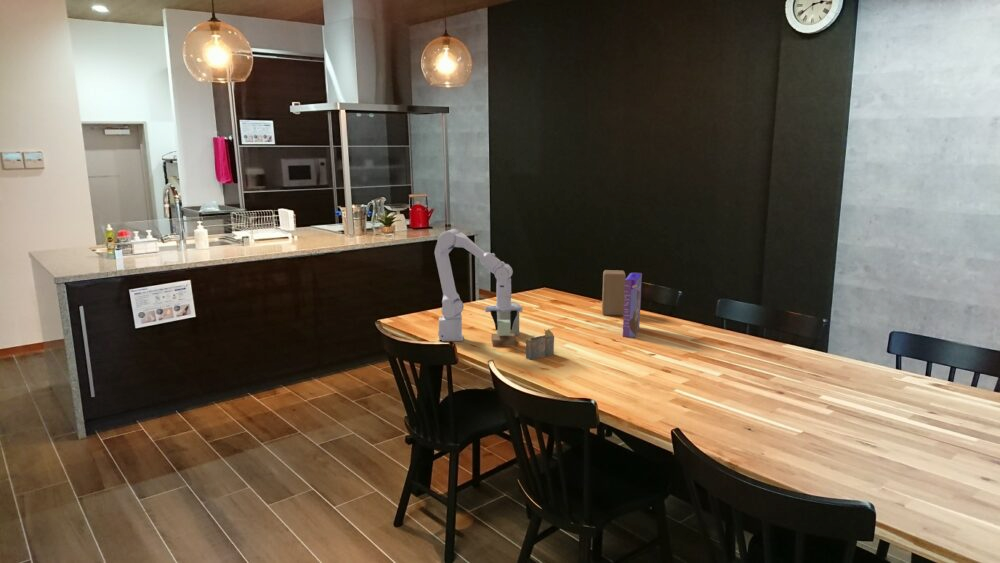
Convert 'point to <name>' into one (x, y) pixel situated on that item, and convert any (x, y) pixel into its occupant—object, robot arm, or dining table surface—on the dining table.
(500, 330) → the sage cube
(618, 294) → the wooden block
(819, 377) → the dining table surface
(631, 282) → the cereal box
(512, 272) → the robot arm
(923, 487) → the dining table surface
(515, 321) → the grey cylinder
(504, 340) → the walnut slab
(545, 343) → the ruin model on sheet
